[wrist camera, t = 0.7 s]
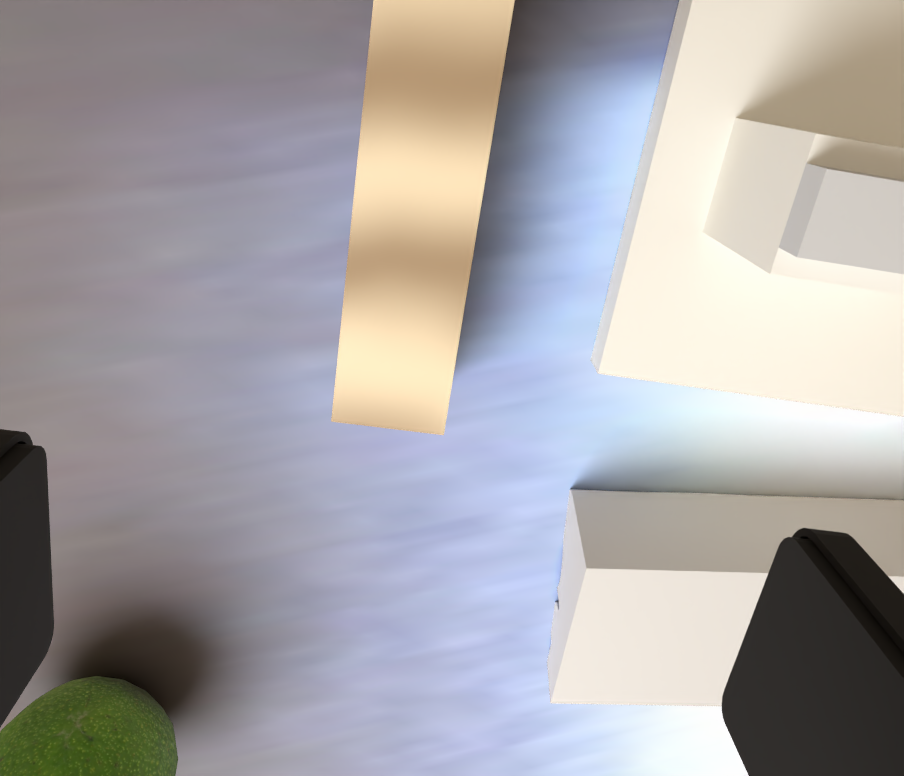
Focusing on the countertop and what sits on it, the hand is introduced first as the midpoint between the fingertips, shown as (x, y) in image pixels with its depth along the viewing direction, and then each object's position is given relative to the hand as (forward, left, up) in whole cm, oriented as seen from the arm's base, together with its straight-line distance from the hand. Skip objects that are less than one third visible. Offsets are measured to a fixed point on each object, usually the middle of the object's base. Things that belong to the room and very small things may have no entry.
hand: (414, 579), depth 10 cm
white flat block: (+14, +26, -22) cm, 37 cm away
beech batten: (-6, 0, -22) cm, 23 cm away
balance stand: (-4, +15, -21) cm, 26 cm away
